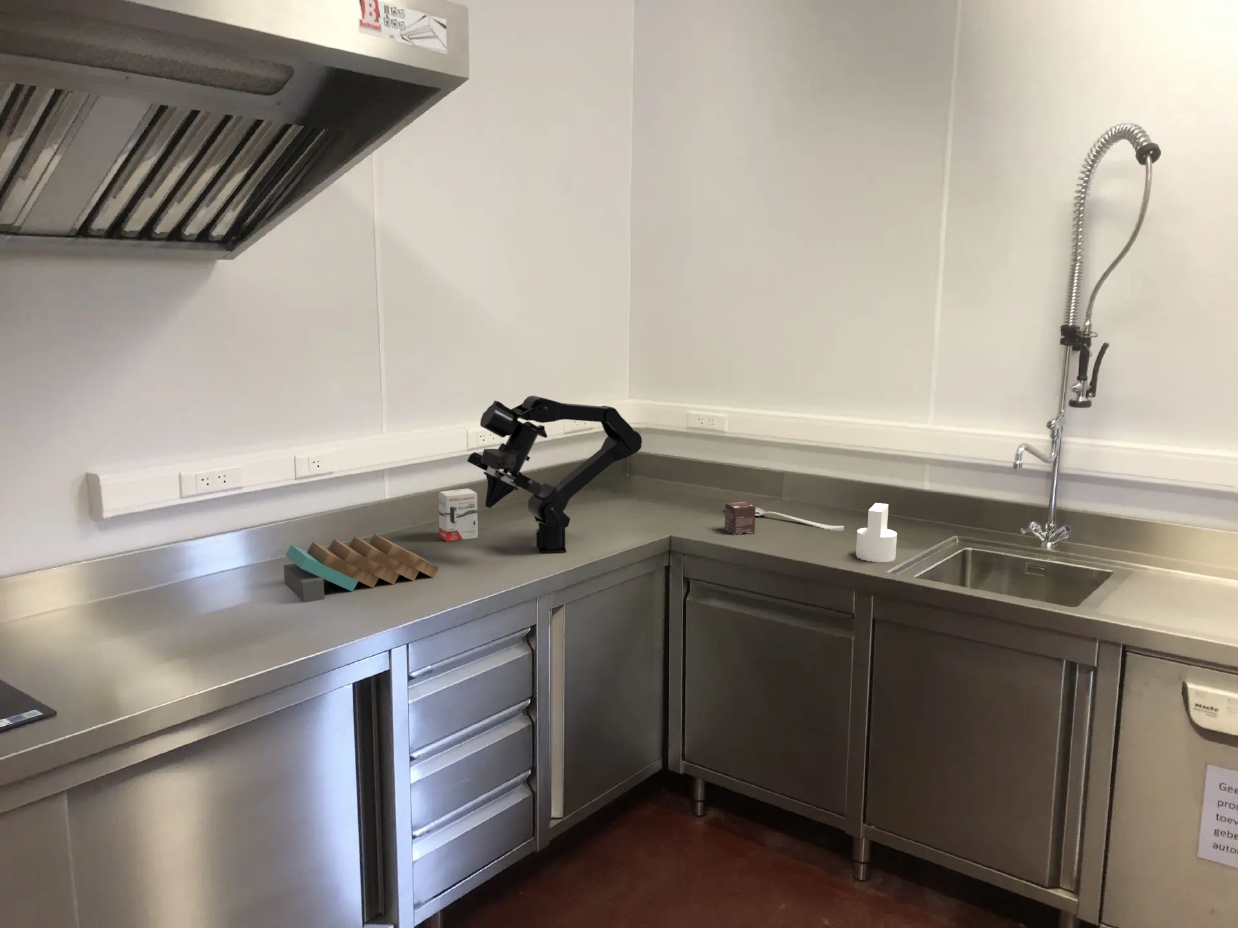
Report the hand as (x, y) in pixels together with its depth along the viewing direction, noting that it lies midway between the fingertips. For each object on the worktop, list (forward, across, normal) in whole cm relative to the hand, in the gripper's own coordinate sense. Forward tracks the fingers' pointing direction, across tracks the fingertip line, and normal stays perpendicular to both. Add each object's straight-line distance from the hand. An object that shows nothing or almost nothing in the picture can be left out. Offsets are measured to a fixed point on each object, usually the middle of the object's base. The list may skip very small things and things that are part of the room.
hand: (487, 507), depth 207 cm
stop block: (+31, -11, -29) cm, 44 cm away
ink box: (+11, -15, +16) cm, 24 cm away
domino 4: (+20, -3, -12) cm, 23 cm away
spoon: (-31, +42, +68) cm, 86 cm away
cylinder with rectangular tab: (-30, +74, +46) cm, 92 cm away
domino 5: (+17, -1, -9) cm, 19 cm away
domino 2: (+24, -6, -19) cm, 31 cm away
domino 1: (+26, -8, -22) cm, 35 cm away
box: (-22, +38, +52) cm, 68 cm away
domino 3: (+22, -4, -16) cm, 27 cm away
